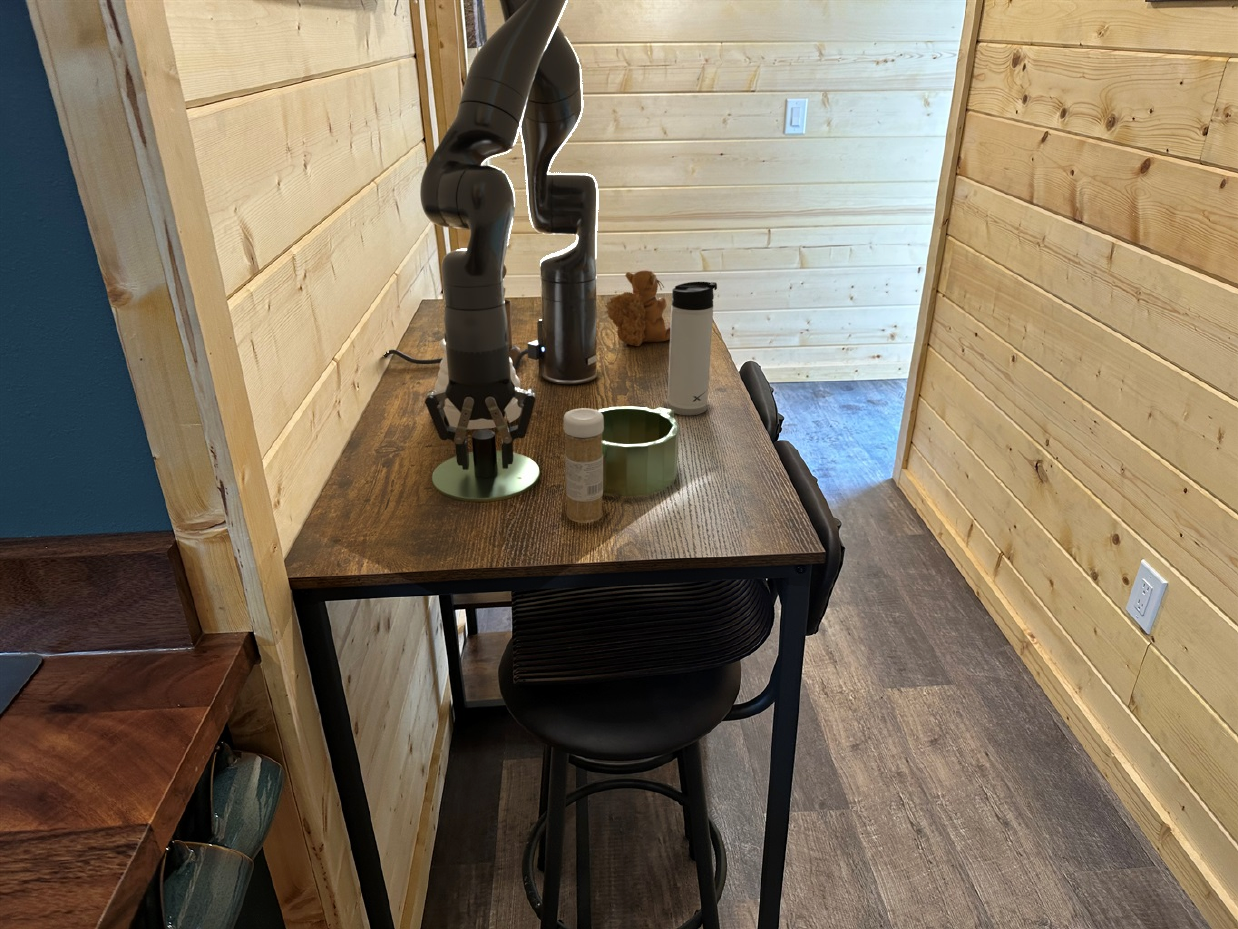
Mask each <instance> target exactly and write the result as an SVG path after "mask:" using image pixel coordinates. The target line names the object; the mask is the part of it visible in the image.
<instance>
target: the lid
mask: <svg viewBox="0 0 1238 929" xmlns="http://www.w3.org/2000/svg"><path fill="white" fill-rule="evenodd" d="M471 445H472V451H471V452H470V451H469V469H468V470H463V468H462V466H459V465H458V463H457V458H456V455H455V456H453V457H451V458H448V459H447V460H444V461H443V462H441V463H440V464H439V465H437V467H436V468H435V469H434V470H433V472H432V475H431V480H432V481H431V482H432V485H433V487H434V489H435V490H436V491H437V492H438V493H439V494H441V495H442V496H445V497H447V498H450V499H452V500H457V501H461V502H462V501H463V502H470V503H489V502H491V503H492V502H498V501H503V500H508V499H511V498H515V497H517V496H520V495H522V494H524V493H526V492H528V491H530V490H531V489H532V488H533V487H535V486H536V484H537V483H538V481H539V479H540V477H541V476H540V475H541V474H540V466H538V464H537V463H536V462H535V461H534V460H532V458H530V457H528V456H526V455H524V454H519V453H517V452H513V453H514V458H513V463H512V464H509V465H508V469H503V468H502V450H497V436H496V433H495V431H493V430H489V429H478V430H475V431H474V432H472V434H471Z"/></svg>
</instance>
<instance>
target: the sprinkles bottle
mask: <svg viewBox="0 0 1238 929" xmlns="http://www.w3.org/2000/svg"><path fill="white" fill-rule="evenodd" d="M597 410H598V409H594V408H586V407H583V408H575V409H571V410H569V411H566V412H565V414H564V415H563V433H564V437H565V439H564V440H565V453H564V455H565V457H564V458H565V460H564V463H565V467H564V468H565V495H566V515H565V516H566V517H567V518H568V519H569V520H571V521H572V522H575V523H581V524H583V523H584V524H585V523H587V524H588V523H593V522H596V521H599V520H600V519H602V517H603V516H604V511H603V495H604V493H603V454H602V434H603V430H604V419H603V415H602V413H601V412H599V411H597Z"/></svg>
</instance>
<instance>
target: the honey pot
mask: <svg viewBox="0 0 1238 929" xmlns="http://www.w3.org/2000/svg"><path fill="white" fill-rule="evenodd" d="M439 347H440V350H442V351H443V356H442V358H443V359H442V361H441V363H439V370H438V372H437V379H436V381H435V383H434V388H433V389H434V391H436V392H437V391H441V390H444V389H446V388H447V385H448V383H449V377H448V366H447V354H446V342H445V340H444V338H442V339H441V340H440V343H439ZM512 364H513V362H512V360H511V358H510V376H511V380H512V382H513V384H514V386H515V388H518V389H521V380H520V378H519V376H517V374H516V372H517V371H516V369H514V367H513V366H512ZM445 402H446V403H445V407H444V408H443V409H444V412H445V414H446V416H447V419H448V421H449V424H450V426H451V427H454V428H457V426H458V422H459V418H460V414H461V413H460V412H459V411H458V409H457V408H456V407H455V406H454V405H453V404H452V403H451V402H450V400H449V399H448V398H447V399H446V400H445ZM521 409H522V408H520V407H519V406H518V404H517V399H516V398H514V397H513V398H512V400H511V401H510V403H509V404H508V405H507V407H506V408H505V411H506V413H507V417H508V420H509V423H510V424H511V423H512V422H514V421H516V420H517V419H519V417H520V413H521ZM494 428H496V426H495V423H494V421H493V420H486V419H478V420H469V423H468V427H467V430H487V429H494Z"/></svg>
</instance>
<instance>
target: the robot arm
mask: <svg viewBox="0 0 1238 929" xmlns="http://www.w3.org/2000/svg"><path fill="white" fill-rule="evenodd" d="M498 1H499V5H500V10H501V14H502V18H503V23H502V25H500V27H499V28H498V29H497V30H495V31H494V32H493V34H492V35H491V36H489V38H488V39H487V40H486V41H485V42H484V43H483V44H482V46H481V47H480V48H479V50H478V52H477V53H476V54H475V57H474V58H473V60H472V63H471V64H470V66H469V70H468V72H467V75H466V78H465V82H464V85H463V88H462V93H461V97H460V100H459V103H458V107H457V111H456V114H455V118H454V120H453V121H452V122H451V124H450V126H449V127H448V129H447V130H446V132H445V133H444V135H443V137H442V139H441V140H440V142H439V143H438V144H437V145H438V146H437V147H436V149H435V150H434V152H433V154H432V155H431V157H430V159H429V161H428V163H427V165H426V166H425V169H424V171H423V174H422V177H421V181H420V191H419V196H420V197H419V198H420V204H421V208H422V210H423V213H424V214H425V216H426V217H427V219H428V220H429V221H430V222H432V223H433V224H434V225H437V226H439V227H441V228H442V227H443V228H450V229H457V230H458V229H459V230H464V231H465V230H466V231H469V232H470V234H469V235H470V236H469V240H468V244H467V248H460V249H454V250H451V251H450V252H447V253H446V254H445V255H444V257H443V258H442V261H441V277H442V278H441V280H442V292H443V303H444V312H443V313H444V314H443V315H444V316H443V328H444V329H443V330H444V331H443V339H444V340H445V342H446V354H447V366H448V377H449V383H448V385H447V388H446V389H444V390H441V391H437V392H436V391H435V389H434V390H433V389H431V390H429V391H428V392H427V394H426V397H425V400H424V404H425V406H426V408H427V411H428V413H429V415H430V418H431V420H432V423H433V426H434V428H435V430H436V432H437V435H438V437H439V438H440V440H442V441H447V440H448V441H451V442H453V443H454V445H455V456H456V458H457V463H458V465H459V466H462V468H463V470H468V469H469V453H470V451H469V437H467V435H466V434H467V430H468V429H467V427H468V423H469V420H478V419H486V420H493V421H494V423H495V426H496V427H495V428H496V429H497V431H498V434H499V435H500V438H501V442H500V448H501V449H500V451H502V468H503V469H508V465H509V464H512V463H513V458H514V453H515V452H514V441H515V440H517V439H524V438H526V436H527V432H528V428H529V425H530V422H531V418H532V414H533V411H534V406H535V403H536V395H537V394H536V393H537V392H536V390H535V389H534V388H528V389H527V390H525V389H521V388H520V389H518V388H515V386H514V384H513V382H512V380H511V376H510V357H509V334H508V320H507V314H506V309H505V302H504V301H505V299H506V298H505V295H504V288H505V283H504V279H503V265H505V260H506V254H507V249H508V245H509V239H510V234H511V230H512V226H513V221H514V217H515V210H516V196H515V191H514V188H513V184H512V182H511V180H510V179H509V177H508V175H507V174H506V173H505V171H504V170H502V169H501V168H498V167H496V166H494V165H485V164H484V163H485V162H486V161H487V160H488V159H491V158H493V157H497V156H500V155H504V154H507V153H509V152H510V151H512V150H513V148H514V146H515V145H516V142H517V141H518V140H517V139H518V136H519V132H520V135H521V142H522V148H523V155H524V166H525V180H526V181H525V182H526V195H527V206H528V214H529V215H528V216H529V220H530V223H531V225H532V228H534V230H535V232H537V233H539V234H542V235H543V234H544V235H551V236H552V235H554V236H555V235H559V236H562V235H563V236H575V237H576V240H575V242H574V243H572V244H571V245H570V246H568V247H567V248H565V249H562V250H560V251H557V252H555V253H551V254H549V255H546V256H545V257H543V258H542V259H541V260H540V263H539V276H540V278H539V281H540V283H539V284H540V308H541V309H540V310H541V319H539V320H537V322H536V330H537V333H536V334H537V339H535V340H533V341H531V342H527V343H526V344H527V348H525V349H523V350H522V351H520V354H519V355H518V356H517V359H516V362H515V364H514V365H512V366H513V367H514V369H515V370H516V369H518V368H519V366H520V364H521V362H522V359H523V357H524V356H526V355H527V359H531V360H534V361H538V363H537V364H538V365H537V366H538V375H539V376H542V378H543V379H544V380H546V381H548V382H549V383H554V384H559V385H581V384H586V383H589V382H592V381H593V380H595V379H596V378H597V377H598V369H597V368H598V367H597V366H598V364H597V363H598V351H597V350H598V347H597V344H598V342H597V340H598V338H597V337H598V336H597V335H598V334H597V333H598V331H597V330H598V329H597V328H598V327H597V326H598V325H597V324H598V322H597V320H598V319H597V318H598V317H597V316H598V314H597V310H598V308H597V300H598V299H597V296H598V295H597V233H598V232H597V231H598V212H599V211H598V210H599V189H598V183H597V181H596V179H595V177H594V176H593V175H591V174H588V173H559V172H558V173H557V172H556V173H555V172H554V173H551V172H549V170H550V168H551V165H552V163H553V161H554V159H555V157H556V156H557V154H558V153H559V151H561V149H562V147H563V146H564V145H565V144H566V142H567V141H568V139H569V138H570V137H571V136H572V133H573V132H574V131H575V129H576V128H577V126H578V123H579V122H580V119H581V117H582V113H583V108H584V100H583V84H582V83H583V82H582V80H583V79H582V69H581V64H580V62H579V58H578V56H577V53H576V52H575V50H574V48H573V46H572V44H571V42H570V41H569V40H568V38H567V36H566V35H565V33H564V32H563V30H562V28H560V26H559V25H558V23H559V21H560V19H561V17H562V15H563V12H564V10H565V8H566V5H567V3H568V0H498ZM388 350H389V353H387V351H385V352H386V354H385V355H384V357H383V358H388V357H389V356H391V355H396V356H398V357H399V358H402V359H403V360H406V361H407V362H409V363H412V364H416V365H434V364H440V363H441V361H442V359H443V357H440V358H432V359H417V358H413V357H411V356H409V355H407V354H405V353H403V351H399V350H398V349H388ZM520 361H521V362H520ZM513 397H514V398H516V399H517V404H518V406H519V407H520V408H522V409H521V413H520V416H519V417H518V421H517V424H516V425H513V426H512V425H511V422H510V423H509V420H508V417H507V413H506V411H505V408H506V407H507V405H508V404H509V403H510V401H511V400H512V398H513ZM447 398H448V399H449V400H450V402H451V403H452V404H453V405H454V406H455V407H456V408H457V409H458V411H459V412H460V413H461V414H460V418H459V422H458V426H457V428H456V427H452V426H450V424H449V421H448V419H447V416H446V414H445V412H444V409H443V408H444V407H445V403H446V402H445V400H446V399H447Z"/></svg>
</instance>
